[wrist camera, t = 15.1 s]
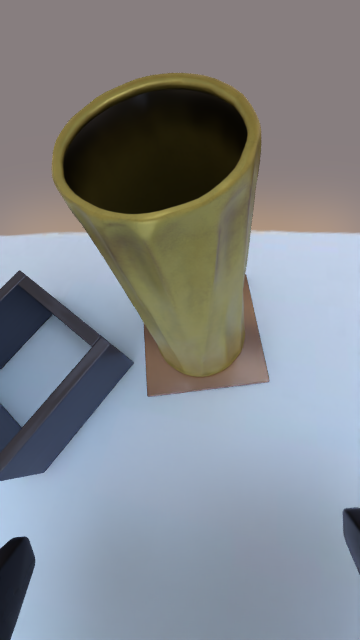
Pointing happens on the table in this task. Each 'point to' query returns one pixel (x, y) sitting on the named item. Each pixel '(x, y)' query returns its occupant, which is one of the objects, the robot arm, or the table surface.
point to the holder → (68, 398)
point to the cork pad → (240, 372)
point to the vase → (170, 206)
